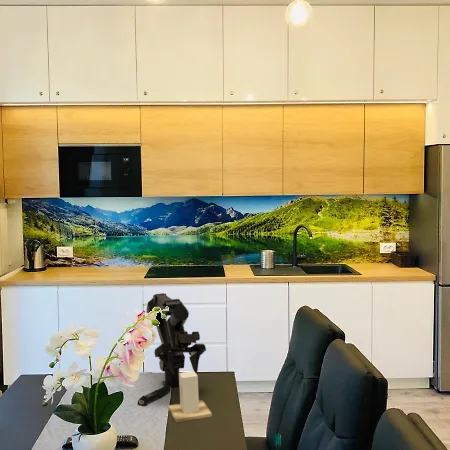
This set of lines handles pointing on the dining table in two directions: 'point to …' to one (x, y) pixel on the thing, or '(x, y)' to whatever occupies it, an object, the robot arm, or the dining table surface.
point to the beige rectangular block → (189, 392)
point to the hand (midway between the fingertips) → (185, 373)
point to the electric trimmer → (153, 395)
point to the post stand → (180, 416)
